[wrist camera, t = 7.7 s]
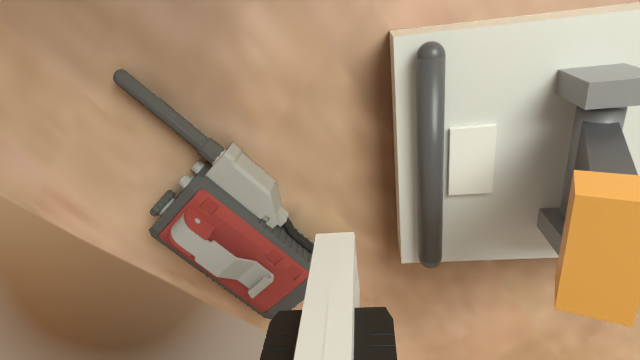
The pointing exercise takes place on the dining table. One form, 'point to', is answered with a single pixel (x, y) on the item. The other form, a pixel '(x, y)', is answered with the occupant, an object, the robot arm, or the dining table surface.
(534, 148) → the panel
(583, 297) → the lever
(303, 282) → the walkie-talkie
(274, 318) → the robot arm
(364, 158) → the dining table surface
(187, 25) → the dining table surface
